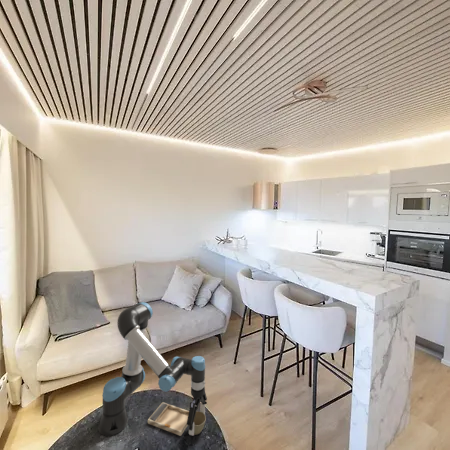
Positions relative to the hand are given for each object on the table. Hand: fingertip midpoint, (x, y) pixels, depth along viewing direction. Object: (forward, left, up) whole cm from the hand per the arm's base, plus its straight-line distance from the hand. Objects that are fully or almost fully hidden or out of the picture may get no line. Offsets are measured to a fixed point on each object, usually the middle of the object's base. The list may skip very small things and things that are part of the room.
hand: (197, 424), depth 135 cm
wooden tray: (-17, +1, -4) cm, 18 cm away
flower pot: (0, 0, -4) cm, 4 cm away
